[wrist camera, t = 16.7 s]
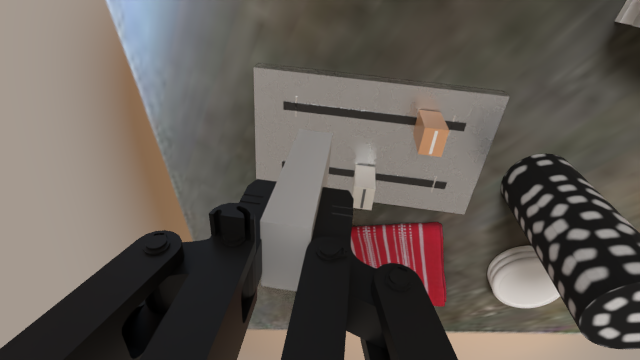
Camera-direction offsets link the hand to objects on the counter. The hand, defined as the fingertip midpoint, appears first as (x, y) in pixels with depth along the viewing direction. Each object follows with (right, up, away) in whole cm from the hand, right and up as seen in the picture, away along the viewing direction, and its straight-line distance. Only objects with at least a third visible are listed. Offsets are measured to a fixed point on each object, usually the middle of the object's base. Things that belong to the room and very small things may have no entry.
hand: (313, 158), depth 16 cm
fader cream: (+6, -1, +28) cm, 29 cm away
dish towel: (+8, -14, +40) cm, 43 cm away
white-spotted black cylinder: (+28, -1, +28) cm, 40 cm away
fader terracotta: (+12, +5, +23) cm, 27 cm away
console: (+6, +4, +28) cm, 29 cm away
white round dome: (+31, -14, +36) cm, 50 cm away
